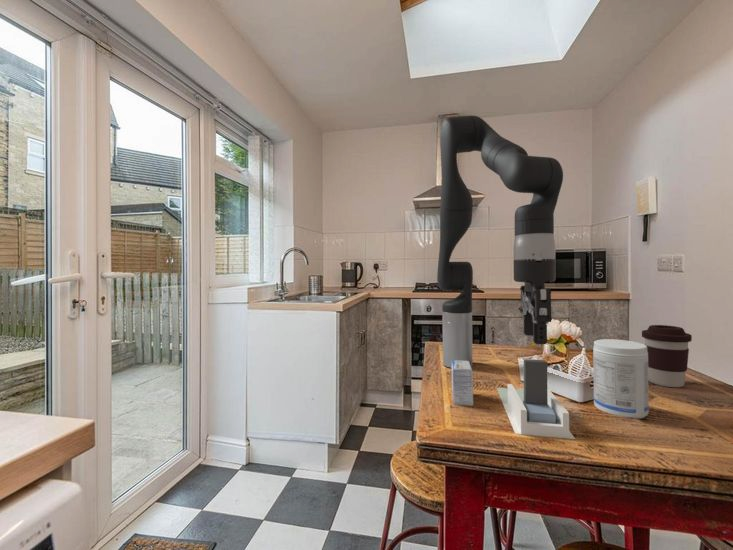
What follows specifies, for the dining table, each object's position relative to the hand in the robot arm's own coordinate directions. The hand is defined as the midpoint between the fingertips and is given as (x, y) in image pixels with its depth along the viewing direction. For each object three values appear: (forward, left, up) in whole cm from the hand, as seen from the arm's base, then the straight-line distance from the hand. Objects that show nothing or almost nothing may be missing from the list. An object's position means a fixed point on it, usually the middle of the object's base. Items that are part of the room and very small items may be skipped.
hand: (534, 339), depth 69 cm
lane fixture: (-6, 0, -17) cm, 18 cm away
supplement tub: (-10, +19, -17) cm, 28 cm away
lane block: (+2, 0, -16) cm, 16 cm away
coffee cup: (-32, +39, -17) cm, 53 cm away
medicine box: (-9, -14, -17) cm, 24 cm away
